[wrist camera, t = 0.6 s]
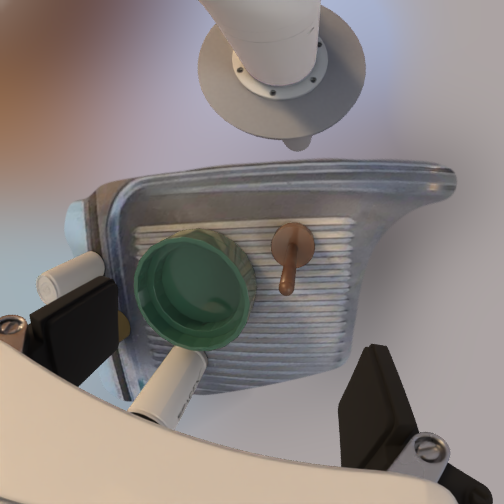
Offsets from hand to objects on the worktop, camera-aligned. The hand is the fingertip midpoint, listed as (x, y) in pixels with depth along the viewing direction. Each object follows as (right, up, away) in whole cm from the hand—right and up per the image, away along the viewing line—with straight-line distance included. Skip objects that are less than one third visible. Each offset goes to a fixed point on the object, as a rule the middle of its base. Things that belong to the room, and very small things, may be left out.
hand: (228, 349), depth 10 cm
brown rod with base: (+6, +5, +27) cm, 28 cm away
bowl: (-6, -1, +31) cm, 31 cm away
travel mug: (-9, -14, +35) cm, 39 cm away
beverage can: (-25, +1, +34) cm, 42 cm away
